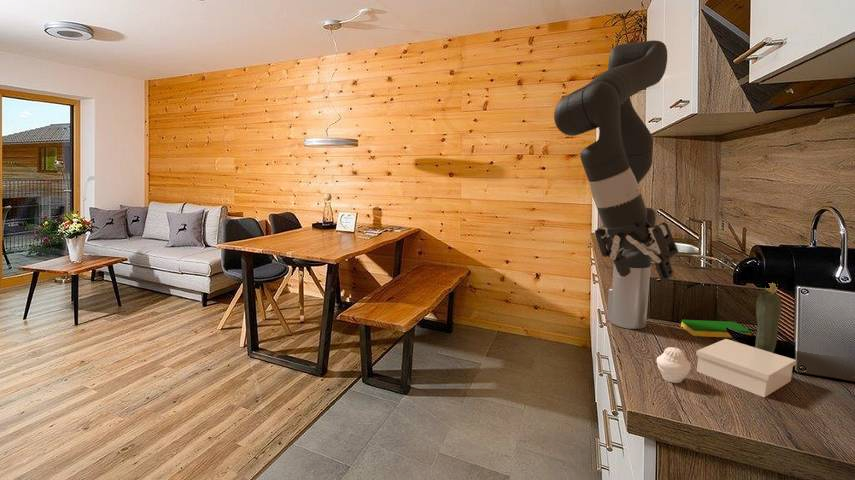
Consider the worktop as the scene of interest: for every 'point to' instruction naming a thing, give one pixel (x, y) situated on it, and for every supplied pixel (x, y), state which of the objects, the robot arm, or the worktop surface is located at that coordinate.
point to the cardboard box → (745, 366)
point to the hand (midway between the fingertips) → (645, 276)
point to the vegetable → (768, 318)
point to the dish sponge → (711, 328)
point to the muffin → (673, 365)
